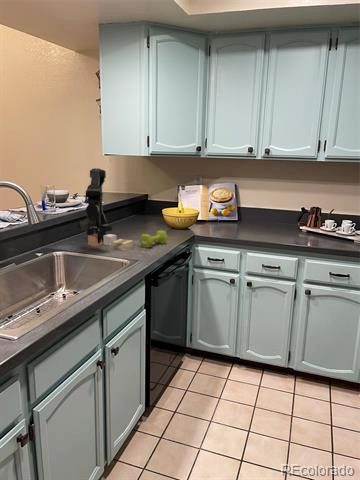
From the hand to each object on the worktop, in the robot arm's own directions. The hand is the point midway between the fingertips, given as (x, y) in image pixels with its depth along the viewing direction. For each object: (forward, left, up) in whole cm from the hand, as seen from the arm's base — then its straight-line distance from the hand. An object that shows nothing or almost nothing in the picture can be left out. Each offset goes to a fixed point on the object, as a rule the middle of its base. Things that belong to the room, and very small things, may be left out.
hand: (95, 242), depth 199 cm
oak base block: (+10, +10, -4) cm, 15 cm away
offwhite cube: (-1, +13, -4) cm, 14 cm away
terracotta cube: (0, 0, -1) cm, 1 cm away
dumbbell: (+20, +25, -4) cm, 32 cm away
